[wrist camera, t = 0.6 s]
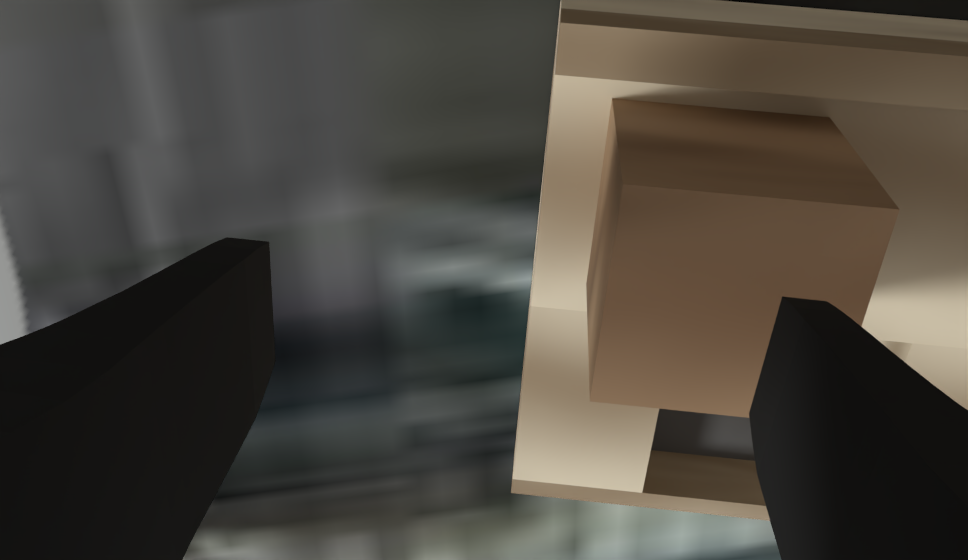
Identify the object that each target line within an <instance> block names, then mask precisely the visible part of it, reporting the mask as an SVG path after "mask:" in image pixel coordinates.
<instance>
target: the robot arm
mask: <svg viewBox="0 0 968 560" xmlns="http://www.w3.org/2000/svg"><path fill="white" fill-rule="evenodd" d="M274 364H275V344H274V325H273V307H272V288H271V269H270V251H269V242H265V241H256V240H246V239H237V238H224V239H222V240H219V241H217V242H215V243H213V244H211V245H209V246H207V247H205V248H203V249H201V250H199V251H197V252H195V253H193V254H191V255H189V256H187V257H186V258H184V259H182V260H180V261H178V262H176V263H175V264H173V265H171V266H169V267H167V268H165V269H163V270H162V271H160V272H158V273H156V274H154V275H152V276H150V277H148V278H147V279H145V280H143V281H141V282H139V283H137V284H135V285H133V286H132V287H130V288H128V289H126V290H124V291H122V292H120V293H118V294H116V295H114V296H112V297H109V298H107V299H105V300H103V301H101V302H99V303H97V304H95V305H93V306H91V307H89V308H87V309H84V310H82V311H80V312H78V313H76V314H74V315H72V316H70V317H68V318H66V319H64V320H61V321H59V322H57V323H54V324H52V325H50V326H47V327H45V328H43V329H40V330H38V331H35V332H33V333H30V334H28V335H25V336H23V337H20V338H17V339H15V340H12V341H9V342H6V343H4V344H1V345H0V560H182V559H183V557H184V555H185V553H186V551H187V549H188V547H189V544H190V542H191V540H192V538H193V537H194V535H195V533H196V531H197V529H198V527H199V525H200V523H201V521H202V520H203V518H204V516H205V514H206V512H207V510H208V508H209V506H210V504H211V503H212V501H213V499H214V497H215V495H216V493H217V491H218V489H219V487H220V486H221V484H222V482H223V480H224V478H225V476H226V474H227V472H228V470H229V469H230V467H231V465H232V463H233V461H234V459H235V457H236V455H237V453H238V451H239V449H240V447H241V446H242V444H243V442H244V440H245V438H246V436H247V434H248V432H249V430H250V428H251V426H252V424H253V422H254V420H255V418H256V415H257V413H258V410H259V407H260V405H261V402H262V399H263V396H264V394H265V391H266V388H267V385H268V382H269V379H270V376H271V373H272V370H273V367H274ZM749 418H750V427H751V435H752V443H753V450H754V457H755V463H756V470H757V476H758V479H759V483H760V487H761V490H762V494H763V497H764V501H765V504H766V508H767V511H768V515H769V518H770V522H771V525H772V528H773V532H774V535H775V539H776V542H777V545H778V549H779V552H780V555H781V559H782V560H968V410H967V409H965V408H964V407H962V406H961V405H960V404H958V403H957V402H955V401H954V400H953V399H951V398H950V397H949V396H947V395H946V394H945V393H944V392H942V391H941V390H940V389H938V388H937V387H936V386H934V385H933V384H932V383H930V382H929V381H928V380H927V379H925V378H924V377H923V376H922V375H920V374H919V373H918V372H917V371H915V370H914V369H913V368H912V367H910V366H909V365H908V364H907V363H905V362H904V361H903V360H902V359H900V358H899V357H898V356H897V355H895V354H894V353H893V352H892V351H891V350H889V349H888V348H887V347H886V346H884V345H883V344H882V343H881V342H880V341H878V340H877V339H876V338H875V337H873V336H872V335H871V334H870V333H869V332H867V331H866V330H865V329H864V328H862V327H861V326H860V325H859V324H857V323H856V322H855V321H854V320H852V319H851V318H850V317H849V316H847V315H846V314H845V313H843V312H842V311H841V310H839V309H838V308H837V307H835V306H833V305H832V304H830V303H829V302H827V301H820V300H811V299H802V298H792V297H783V296H782V299H781V302H780V306H779V309H778V313H777V317H776V320H775V324H774V327H773V331H772V334H771V338H770V341H769V345H768V348H767V352H766V355H765V359H764V362H763V366H762V369H761V373H760V376H759V380H758V383H757V387H756V390H755V394H754V398H753V401H752V405H751V408H750V412H749Z"/></svg>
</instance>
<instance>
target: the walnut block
mask: <svg viewBox="0 0 968 560" xmlns="http://www.w3.org/2000/svg"><path fill="white" fill-rule="evenodd" d="M899 210H900V209H899V208H898V207H897V205H896V204H895V203H894V201H893V200H892V199H891V197H890V196H889V195H888V193H887V192H886V191H885V189H884V188H883V187H882V186H881V184H880V183H879V182H878V180H877V179H876V178H875V176H874V175H873V174H872V172H871V171H870V170H869V168H868V167H867V166H866V164H865V163H864V162H863V160H862V159H861V158H860V157H859V155H858V154H857V153H856V151H855V150H854V149H853V147H852V146H851V145H850V143H849V142H848V141H847V139H846V138H845V137H844V135H843V134H842V133H841V132H840V130H839V129H838V128H837V126H836V125H835V124H834V122H833V121H832V120H831V118H830V117H821V116H809V115H798V114H786V113H775V112H763V111H752V110H740V109H729V108H717V107H706V106H694V105H683V104H671V103H660V102H648V101H637V100H625V99H614V98H612V102H611V109H610V116H609V123H608V130H607V138H606V145H605V152H604V159H603V167H602V174H601V181H600V188H599V195H598V203H597V210H596V217H595V224H594V232H593V239H592V246H591V253H590V261H589V268H588V275H587V282H586V293H587V326H588V359H589V392H590V402H599V403H609V404H619V405H629V406H639V407H648V408H658V409H668V410H678V411H688V412H697V413H707V414H717V415H727V416H737V417H747V418H749V412H750V408H751V405H752V401H753V398H754V394H755V390H756V387H757V383H758V380H759V376H760V373H761V369H762V366H763V362H764V359H765V355H766V352H767V348H768V345H769V341H770V338H771V334H772V331H773V327H774V324H775V320H776V317H777V313H778V309H779V306H780V302H781V299H782V296H783V297H792V298H802V299H811V300H820V301H827V302H829V303H830V304H832V305H833V306H835V307H837V308H838V309H839V310H841V311H842V312H843V313H845V314H846V315H847V316H849V317H850V318H851V319H852V320H854V321H855V322H856V323H857V324H859V325H860V326H862V323H863V320H864V317H865V314H866V311H867V308H868V305H869V302H870V299H871V296H872V293H873V290H874V287H875V284H876V280H877V277H878V274H879V271H880V268H881V265H882V262H883V259H884V256H885V253H886V250H887V247H888V244H889V241H890V238H891V235H892V232H893V229H894V225H895V222H896V219H897V216H898V213H899Z"/></svg>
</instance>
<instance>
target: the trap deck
mask: <svg viewBox="0 0 968 560" xmlns="http://www.w3.org/2000/svg"><path fill="white" fill-rule="evenodd" d="M612 98H614V99H625V100H637V101H648V102H660V103H671V104H683V105H694V106H706V107H717V108H729V109H740V110H752V111H763V112H775V113H786V114H798V115H809V116H821V117H830V118H831V120H832V121H833V122H834V124H835V125H836V126H837V128H838V129H839V130H840V132H841V133H842V134H843V135H844V137H845V138H846V139H847V141H848V142H849V143H850V145H851V146H852V147H853V149H854V150H855V151H856V153H857V154H858V155H859V157H860V158H861V159H862V160H863V162H864V163H865V164H866V166H867V167H868V168H869V170H870V171H871V172H872V174H873V175H874V176H875V178H876V179H877V180H878V182H879V183H880V184H881V186H882V187H883V188H884V189H885V191H886V192H887V193H888V195H889V196H890V197H891V199H892V200H893V201H894V203H895V204H896V205H897V207H898V208H899V209H900V210H899V213H898V216H897V219H896V222H895V225H894V229H893V232H892V235H891V238H890V241H889V244H888V247H887V250H886V253H885V256H884V259H883V262H882V265H881V268H880V271H879V274H878V277H877V280H876V284H875V287H874V290H873V293H872V296H871V299H870V302H869V305H868V308H867V311H866V314H865V317H864V320H863V323H862V326H861V327H862V328H864V329H865V330H866V331H867V332H869V333H870V334H871V335H872V336H873V337H875V338H876V339H877V340H878V341H880V342H881V343H882V344H883V345H884V346H886V347H887V348H888V349H889V350H891V351H892V352H893V353H894V354H895V355H897V356H898V357H899V358H900V359H902V360H903V361H904V362H905V363H907V364H908V365H909V366H910V367H912V368H913V369H914V370H915V371H917V372H918V373H919V374H920V375H922V376H923V377H924V378H925V379H927V380H928V381H929V382H930V383H932V384H933V385H934V386H936V387H937V388H938V389H940V390H941V391H942V392H944V393H945V394H946V395H947V396H949V397H950V398H951V399H953V400H954V401H955V402H957V403H958V404H960V405H961V406H962V407H964V408H965V409H967V410H968V21H965V20H953V19H941V18H929V17H916V16H904V15H892V14H880V13H867V12H855V11H843V10H831V9H819V8H806V7H794V6H782V5H770V4H757V3H745V2H733V1H721V0H561V2H560V11H559V21H558V31H557V41H556V50H555V60H554V70H553V79H552V89H551V99H550V109H549V118H548V128H547V138H546V148H545V157H544V167H543V177H542V187H541V196H540V206H539V216H538V226H537V235H536V245H535V255H534V265H533V274H532V284H531V294H530V304H529V313H528V323H527V333H526V343H525V352H524V362H523V372H522V381H521V391H520V401H519V411H518V420H517V430H516V440H515V451H514V463H513V475H512V487H511V493H517V494H526V495H535V496H545V497H554V498H563V499H573V500H582V501H591V502H601V503H610V504H620V505H629V506H638V507H648V508H657V509H666V510H676V511H685V512H694V513H704V514H713V515H723V516H732V517H741V518H751V519H760V520H769V521H770V518H769V515H768V511H767V508H766V504H765V501H764V497H763V494H762V490H761V487H760V483H759V479H758V476H757V470H756V463H755V457H754V450H753V443H752V435H751V427H750V418H747V417H737V416H727V415H717V414H707V413H697V412H688V411H678V410H668V409H658V408H648V407H639V406H629V405H619V404H609V403H599V402H590V392H589V359H588V326H587V293H586V282H587V275H588V268H589V261H590V253H591V246H592V239H593V232H594V224H595V217H596V210H597V203H598V195H599V188H600V181H601V174H602V167H603V159H604V152H605V145H606V138H607V130H608V123H609V116H610V109H611V102H612Z"/></svg>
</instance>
